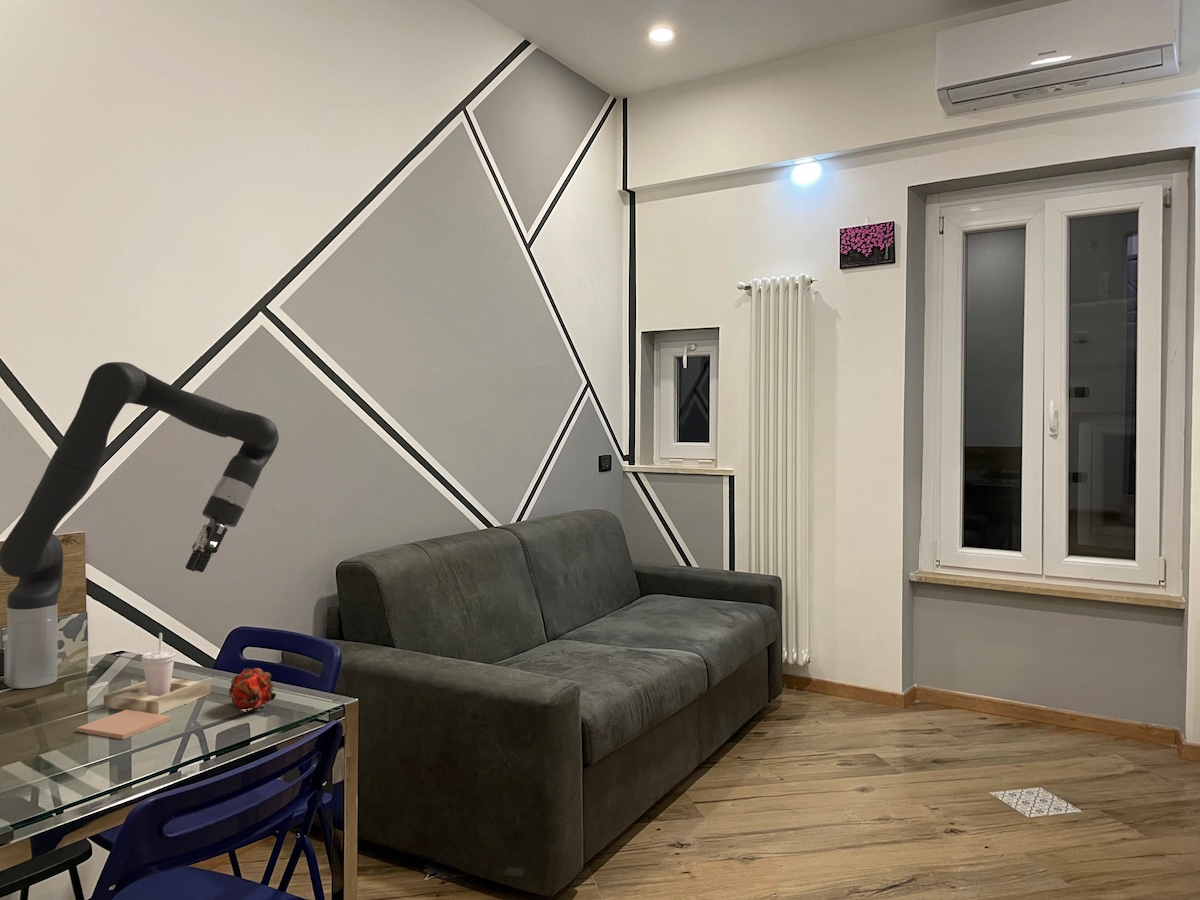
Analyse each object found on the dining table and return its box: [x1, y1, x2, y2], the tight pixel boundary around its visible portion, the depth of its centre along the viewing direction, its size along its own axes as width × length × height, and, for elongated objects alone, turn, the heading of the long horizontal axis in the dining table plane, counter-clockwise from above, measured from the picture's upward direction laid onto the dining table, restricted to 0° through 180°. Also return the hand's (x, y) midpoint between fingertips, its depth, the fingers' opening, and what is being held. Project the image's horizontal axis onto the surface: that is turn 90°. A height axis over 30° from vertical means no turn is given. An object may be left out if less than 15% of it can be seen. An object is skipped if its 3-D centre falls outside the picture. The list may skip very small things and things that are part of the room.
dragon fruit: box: [228, 667, 277, 712], centre depth 174 cm, size 8×8×12 cm
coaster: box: [76, 710, 172, 740], centre depth 163 cm, size 11×11×1 cm
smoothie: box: [140, 632, 177, 696], centre depth 178 cm, size 6×6×14 cm
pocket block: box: [103, 677, 212, 715], centre depth 178 cm, size 14×14×2 cm
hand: (193, 570), depth 183 cm, fingers open, 8 cm apart
